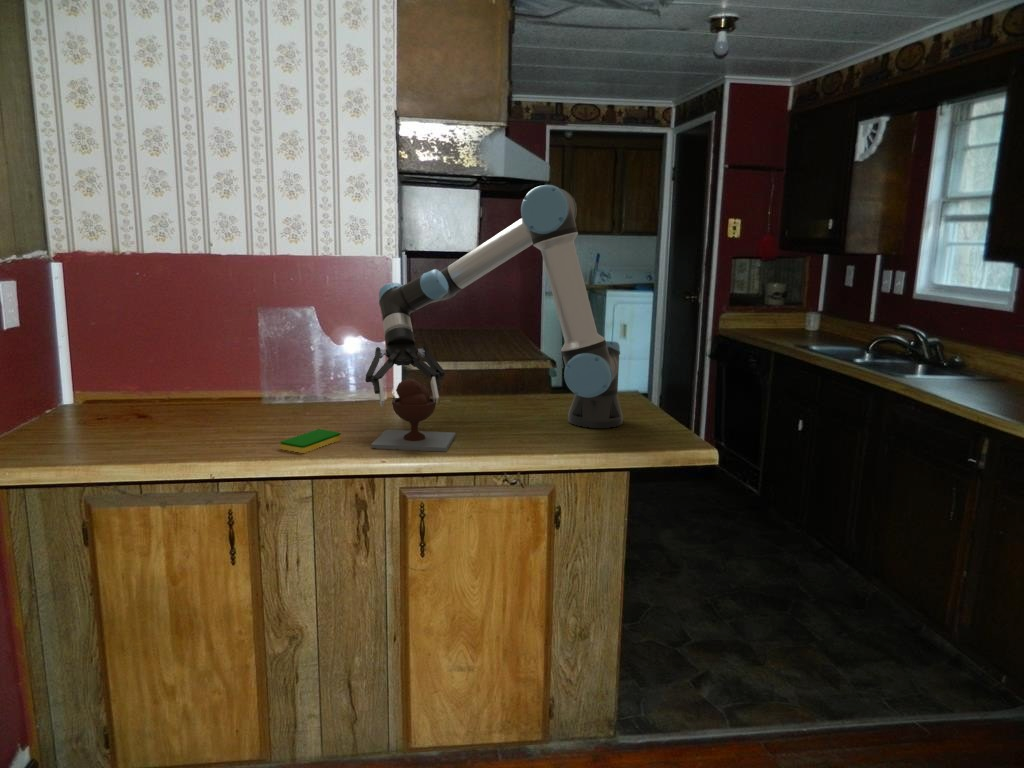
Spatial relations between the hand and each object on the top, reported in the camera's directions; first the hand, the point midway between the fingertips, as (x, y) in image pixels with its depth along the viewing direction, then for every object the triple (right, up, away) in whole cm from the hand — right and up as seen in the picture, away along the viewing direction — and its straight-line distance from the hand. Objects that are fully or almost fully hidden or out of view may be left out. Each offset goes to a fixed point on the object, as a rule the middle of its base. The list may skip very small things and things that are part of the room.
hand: (410, 402), depth 186 cm
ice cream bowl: (+1, -9, -2) cm, 9 cm away
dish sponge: (-23, -11, -6) cm, 26 cm away
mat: (+1, -10, -2) cm, 10 cm away
